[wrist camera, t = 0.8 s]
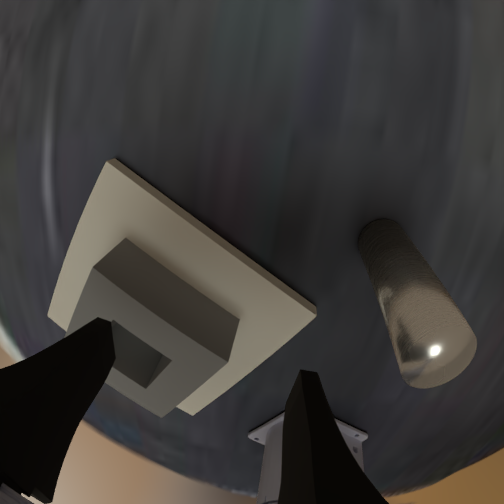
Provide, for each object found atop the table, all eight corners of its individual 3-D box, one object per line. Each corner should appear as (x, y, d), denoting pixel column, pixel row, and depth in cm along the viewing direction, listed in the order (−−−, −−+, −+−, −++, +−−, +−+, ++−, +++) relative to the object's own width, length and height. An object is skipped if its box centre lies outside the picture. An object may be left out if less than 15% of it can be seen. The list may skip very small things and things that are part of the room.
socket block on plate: (316, 306, 21) (319, 360, 16) (195, 407, 27) (181, 450, 23) (114, 158, 18) (65, 177, 13) (53, 309, 25) (22, 342, 20)
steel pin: (414, 240, 18) (487, 350, 9) (380, 273, 19) (427, 397, 10) (382, 209, 17) (453, 310, 8) (348, 245, 18) (384, 367, 10)
